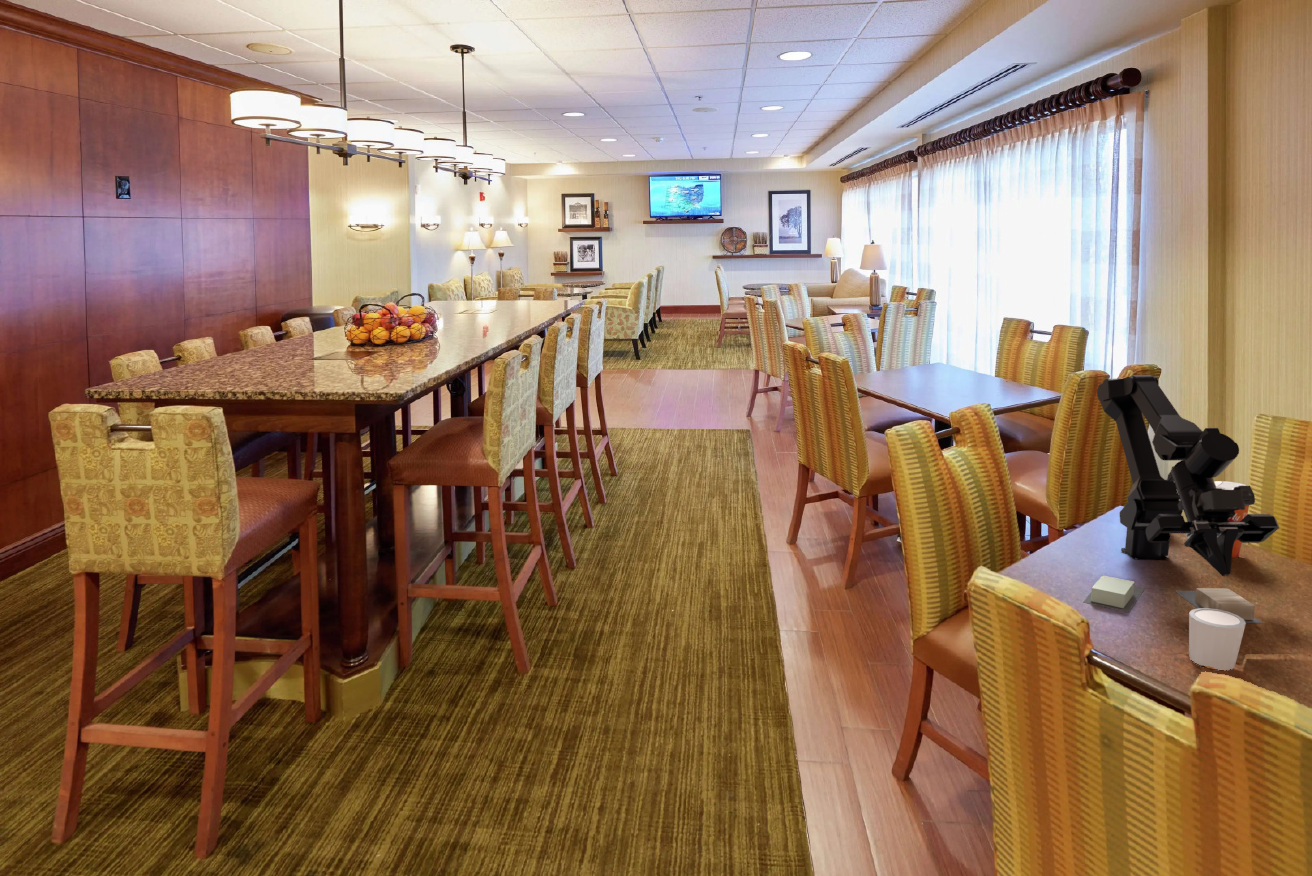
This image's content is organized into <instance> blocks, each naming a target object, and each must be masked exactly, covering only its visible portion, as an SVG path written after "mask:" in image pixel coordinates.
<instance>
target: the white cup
mask: <svg viewBox="0 0 1312 876" xmlns="http://www.w3.org/2000/svg"><path fill="white" fill-rule="evenodd" d="M1246 624H1247V623H1246V622H1245V621H1244V619H1242V618H1241V617H1239V616H1238V615H1235V614H1233V613H1230V612H1227V611H1222V610H1218V609H1210V608H1195V609H1191V610H1190V611H1189V613H1188V658H1189V657H1190V658H1189V660H1190V661H1191V660H1192V661H1194V662H1195V663H1197V664H1199V665H1204V666H1210V667H1214V668H1215V669H1218V670H1217V671H1219V670H1224V671H1223V672H1225V671H1226V670H1227V671H1231V670H1234V669H1235V667H1236V663H1237V660H1238V657H1239V656H1238V655H1239V651H1240V648H1241V644H1242V640H1243V636H1244V633H1245V632H1244V631H1245V628H1246ZM1192 661H1191V662H1192ZM1194 662H1193V663H1194ZM1195 663H1194V664H1195ZM1197 664H1196V665H1197ZM1199 665H1198V666H1199ZM1230 669H1231V670H1230Z"/></svg>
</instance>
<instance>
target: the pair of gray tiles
mask: <svg viewBox="0 0 1312 876" xmlns="http://www.w3.org/2000/svg"><path fill="white" fill-rule="evenodd" d="M1145 590H1146V587H1145V586H1144V587H1143V586H1140V585H1135V584H1134V592H1133V596H1132V597H1131V599H1130V600H1129V601H1128V603H1127V604H1126V605H1125V607H1124V608H1120V607H1115V606H1111V605H1106V604H1101V603H1097V602H1092V601H1091V592H1090V593H1088V595H1087V596H1086V598H1085V599H1084V600H1083V603H1084V604H1088V605H1093V606H1098V607H1102V608H1106V609H1112V610H1115V611H1120V612H1125V613H1130V612H1131V610H1132V609H1133V607H1134V606H1135V604H1136V603H1137V601H1138V600H1139V598H1140V597H1141V595H1142V593H1143V592H1144V591H1145ZM1174 592H1175V593H1176V594H1178V595H1179V596H1180V597H1182V598H1183V599H1184V600H1186V601H1187V602H1188V603H1190V604H1191V605H1192V606H1194V608H1195V609H1198V608H1203V607H1202V606H1201V605H1199V604H1198V603H1196V602H1195V598H1196V590H1174ZM1244 621H1245V622H1246V624H1263V622H1262V621H1261V620H1259V618H1256V617H1255V616H1254V619H1253V620H1244Z"/></svg>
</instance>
